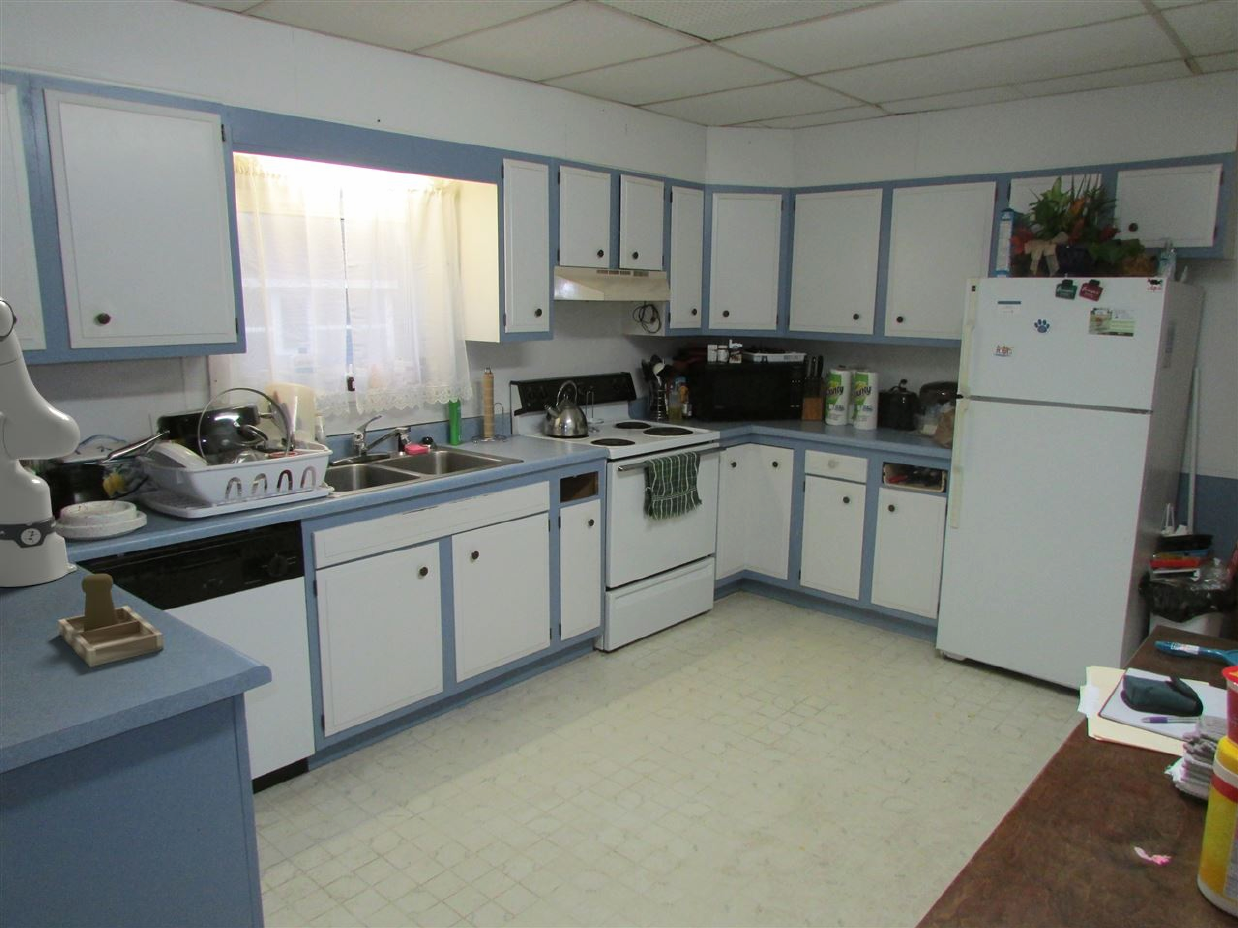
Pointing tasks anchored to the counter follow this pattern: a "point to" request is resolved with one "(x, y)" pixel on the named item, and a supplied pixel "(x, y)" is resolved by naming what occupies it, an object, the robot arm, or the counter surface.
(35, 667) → the counter surface
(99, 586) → the cork
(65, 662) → the counter surface
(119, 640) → the caddy
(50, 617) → the counter surface
